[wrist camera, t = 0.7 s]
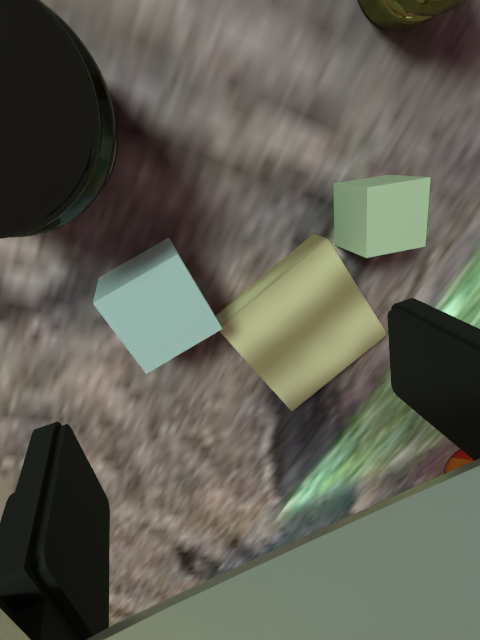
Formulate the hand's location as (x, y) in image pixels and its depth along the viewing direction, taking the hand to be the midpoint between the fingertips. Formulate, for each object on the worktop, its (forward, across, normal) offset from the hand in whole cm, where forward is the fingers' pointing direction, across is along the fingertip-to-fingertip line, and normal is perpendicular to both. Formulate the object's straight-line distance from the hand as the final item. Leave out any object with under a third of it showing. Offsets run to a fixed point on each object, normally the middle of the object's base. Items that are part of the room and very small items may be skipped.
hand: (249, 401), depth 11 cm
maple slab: (+21, -9, +10) cm, 25 cm away
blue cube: (+21, +2, +3) cm, 22 cm away
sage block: (+21, -17, +2) cm, 27 cm away
